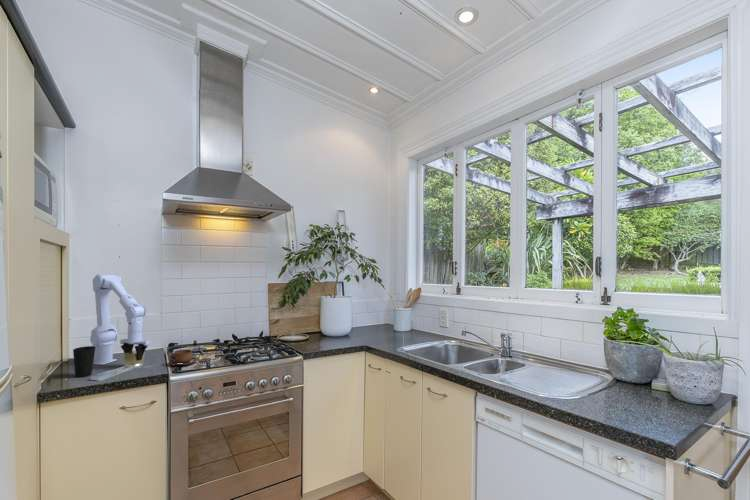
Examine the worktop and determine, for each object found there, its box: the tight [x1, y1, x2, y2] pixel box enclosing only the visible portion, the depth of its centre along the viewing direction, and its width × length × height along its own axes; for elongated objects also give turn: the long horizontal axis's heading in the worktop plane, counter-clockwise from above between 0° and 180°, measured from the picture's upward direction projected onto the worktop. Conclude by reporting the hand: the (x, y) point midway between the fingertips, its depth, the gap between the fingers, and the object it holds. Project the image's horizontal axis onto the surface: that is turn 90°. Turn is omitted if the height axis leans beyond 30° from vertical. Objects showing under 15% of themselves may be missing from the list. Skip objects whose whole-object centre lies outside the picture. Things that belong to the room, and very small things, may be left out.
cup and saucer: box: [168, 349, 198, 367], centre depth 171 cm, size 12×12×6 cm
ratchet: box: [90, 362, 144, 382], centre depth 157 cm, size 7×22×5 cm, turn 169°
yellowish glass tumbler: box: [123, 349, 146, 365], centre depth 165 cm, size 6×6×5 cm
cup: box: [72, 345, 96, 379], centre depth 152 cm, size 8×8×12 cm
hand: (134, 359), depth 165 cm, fingers closed on yellowish glass tumbler, 5 cm apart
